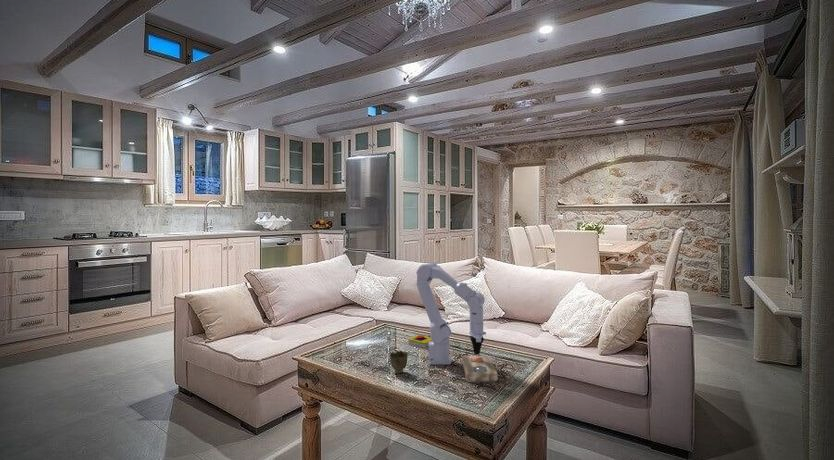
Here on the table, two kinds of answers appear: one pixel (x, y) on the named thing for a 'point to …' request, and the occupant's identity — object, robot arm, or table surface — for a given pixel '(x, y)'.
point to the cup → (398, 361)
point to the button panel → (479, 376)
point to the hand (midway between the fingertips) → (476, 353)
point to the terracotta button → (476, 359)
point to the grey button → (480, 369)
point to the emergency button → (420, 341)
